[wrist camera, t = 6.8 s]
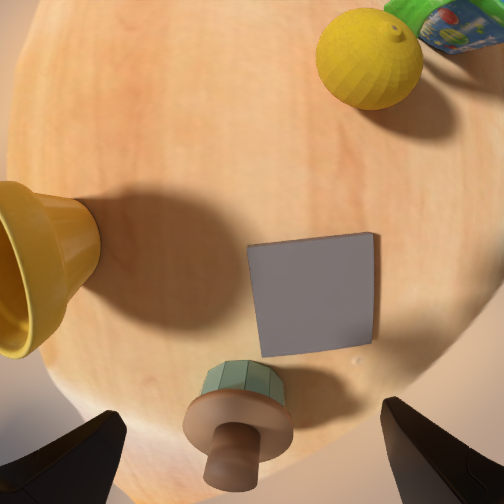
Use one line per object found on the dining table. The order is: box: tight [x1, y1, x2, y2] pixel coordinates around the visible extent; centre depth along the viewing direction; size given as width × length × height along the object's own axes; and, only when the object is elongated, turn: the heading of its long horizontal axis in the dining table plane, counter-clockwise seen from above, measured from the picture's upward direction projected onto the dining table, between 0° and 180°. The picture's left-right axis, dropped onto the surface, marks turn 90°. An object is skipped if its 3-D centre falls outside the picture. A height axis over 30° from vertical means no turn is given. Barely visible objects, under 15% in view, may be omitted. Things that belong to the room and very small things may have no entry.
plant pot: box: [0, 181, 101, 359], centre depth 15 cm, size 10×10×10 cm
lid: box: [183, 389, 293, 492], centre depth 15 cm, size 8×8×5 cm
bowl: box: [198, 360, 285, 407], centre depth 19 cm, size 7×7×4 cm
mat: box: [247, 232, 374, 357], centre depth 18 cm, size 8×8×1 cm
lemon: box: [316, 8, 423, 110], centre depth 11 cm, size 6×6×8 cm
